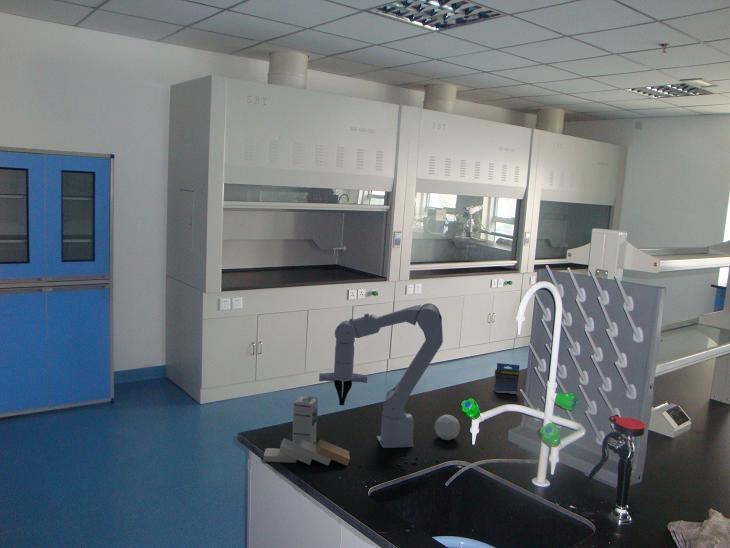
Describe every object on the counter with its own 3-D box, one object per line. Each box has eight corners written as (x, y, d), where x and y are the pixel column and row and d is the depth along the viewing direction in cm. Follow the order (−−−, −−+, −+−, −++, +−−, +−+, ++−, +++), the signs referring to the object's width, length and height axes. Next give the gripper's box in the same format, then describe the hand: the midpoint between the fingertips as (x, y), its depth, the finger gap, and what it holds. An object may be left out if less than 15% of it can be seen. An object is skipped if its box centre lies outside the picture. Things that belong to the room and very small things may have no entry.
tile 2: (330, 451, 166) (301, 438, 164) (331, 459, 161) (301, 446, 160) (327, 457, 166) (298, 444, 165) (327, 465, 161) (298, 453, 160)
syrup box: (310, 452, 169) (313, 404, 167) (291, 449, 170) (293, 401, 168) (316, 444, 174) (318, 397, 172) (297, 441, 175) (299, 394, 173)
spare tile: (348, 451, 166) (320, 439, 165) (350, 459, 161) (320, 447, 160) (345, 457, 167) (317, 445, 165) (346, 465, 162) (317, 453, 160)
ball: (446, 444, 186) (455, 420, 189) (458, 445, 179) (468, 421, 182) (426, 433, 185) (436, 409, 188) (438, 434, 177) (448, 409, 180)
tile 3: (312, 450, 166) (283, 437, 164) (312, 458, 161) (282, 445, 160) (309, 456, 166) (280, 444, 165) (309, 464, 161) (279, 452, 160)
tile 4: (298, 449, 166) (266, 448, 166) (296, 457, 162) (263, 455, 161) (297, 456, 167) (265, 454, 166) (296, 464, 162) (263, 462, 162)
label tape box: (515, 392, 233) (518, 362, 231) (517, 395, 229) (520, 365, 227) (492, 390, 233) (495, 360, 232) (494, 393, 229) (496, 363, 228)
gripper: (319, 363, 173) (317, 408, 175) (369, 365, 174) (366, 409, 176) (320, 357, 180) (318, 399, 182) (367, 359, 181) (364, 401, 183)
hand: (341, 404), depth 179 cm, fingers closed
